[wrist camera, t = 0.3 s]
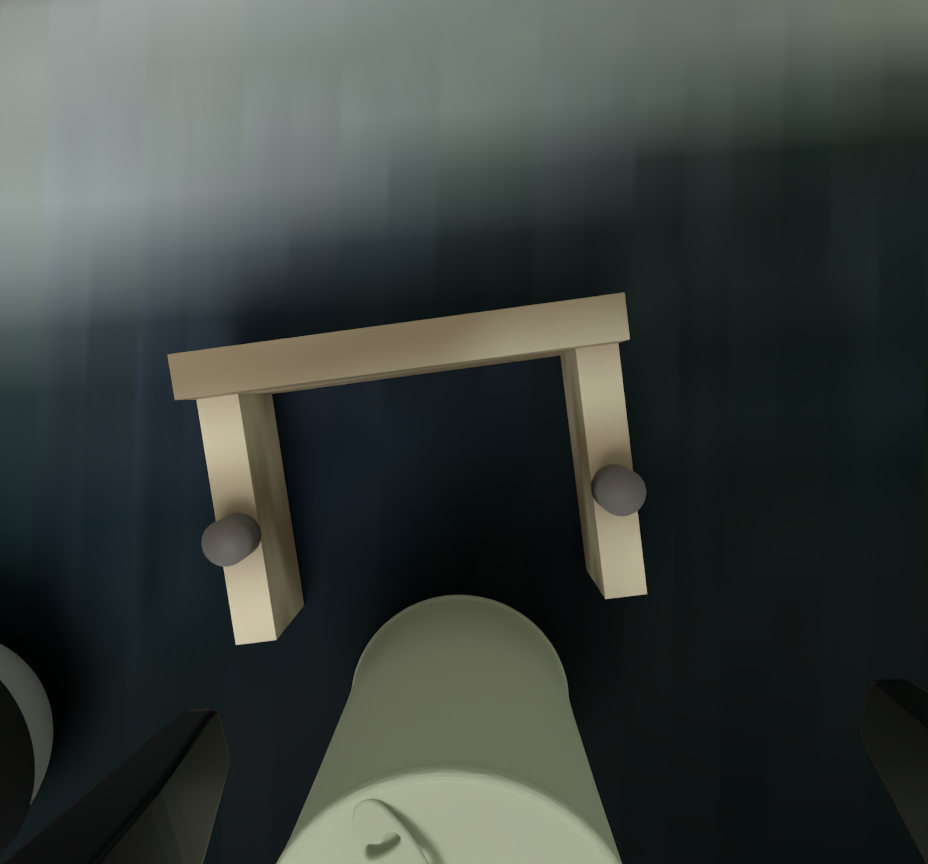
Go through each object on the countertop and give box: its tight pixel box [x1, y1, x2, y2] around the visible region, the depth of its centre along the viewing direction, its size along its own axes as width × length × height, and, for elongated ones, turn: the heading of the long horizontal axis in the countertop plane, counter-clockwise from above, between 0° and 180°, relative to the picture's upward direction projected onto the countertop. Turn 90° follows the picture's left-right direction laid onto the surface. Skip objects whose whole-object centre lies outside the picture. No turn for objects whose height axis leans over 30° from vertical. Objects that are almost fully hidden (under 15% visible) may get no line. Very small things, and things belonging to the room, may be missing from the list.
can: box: [276, 595, 622, 864], centre depth 19 cm, size 9×9×12 cm
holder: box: [168, 292, 647, 645], centre depth 22 cm, size 10×15×5 cm
